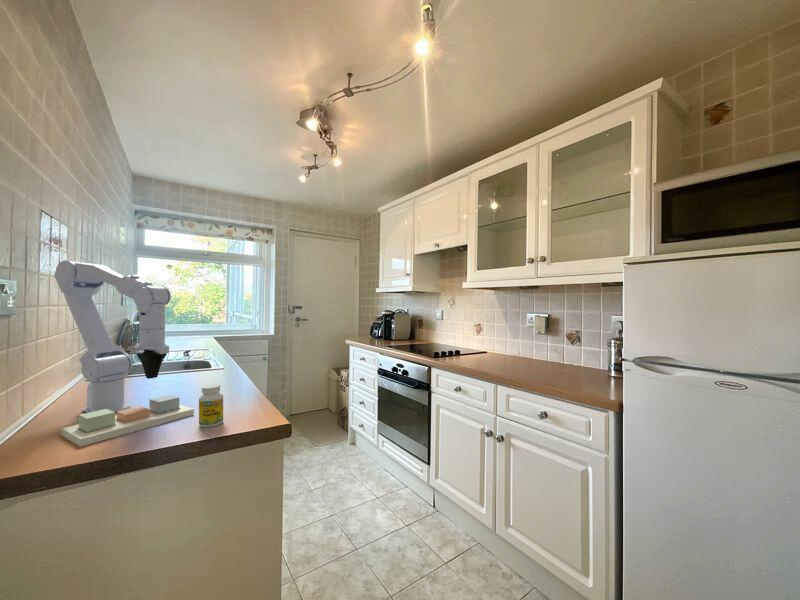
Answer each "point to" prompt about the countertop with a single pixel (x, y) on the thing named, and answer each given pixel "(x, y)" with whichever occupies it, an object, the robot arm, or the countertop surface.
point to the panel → (122, 426)
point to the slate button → (164, 404)
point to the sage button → (96, 420)
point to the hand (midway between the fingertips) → (151, 377)
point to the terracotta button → (133, 414)
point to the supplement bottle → (210, 406)
